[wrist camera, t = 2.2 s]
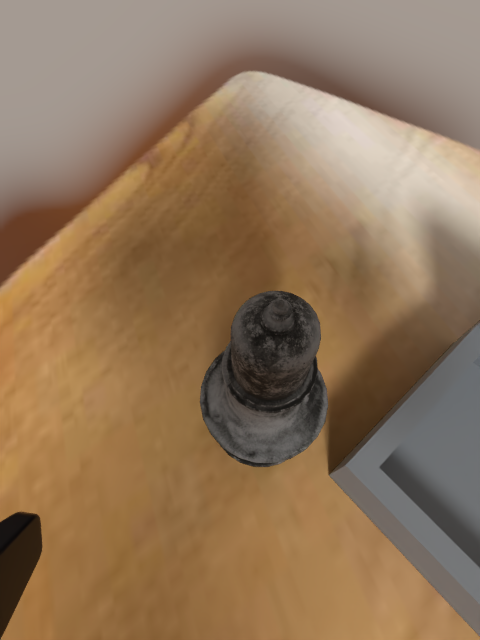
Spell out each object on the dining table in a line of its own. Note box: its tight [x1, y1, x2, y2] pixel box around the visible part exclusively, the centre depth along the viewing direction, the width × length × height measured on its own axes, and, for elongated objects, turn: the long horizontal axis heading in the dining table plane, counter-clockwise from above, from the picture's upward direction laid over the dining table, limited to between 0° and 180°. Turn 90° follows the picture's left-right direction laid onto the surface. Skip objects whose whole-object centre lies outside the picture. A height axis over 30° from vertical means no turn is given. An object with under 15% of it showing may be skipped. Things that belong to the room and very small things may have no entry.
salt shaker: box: [200, 291, 328, 467], centre depth 16 cm, size 6×6×12 cm
